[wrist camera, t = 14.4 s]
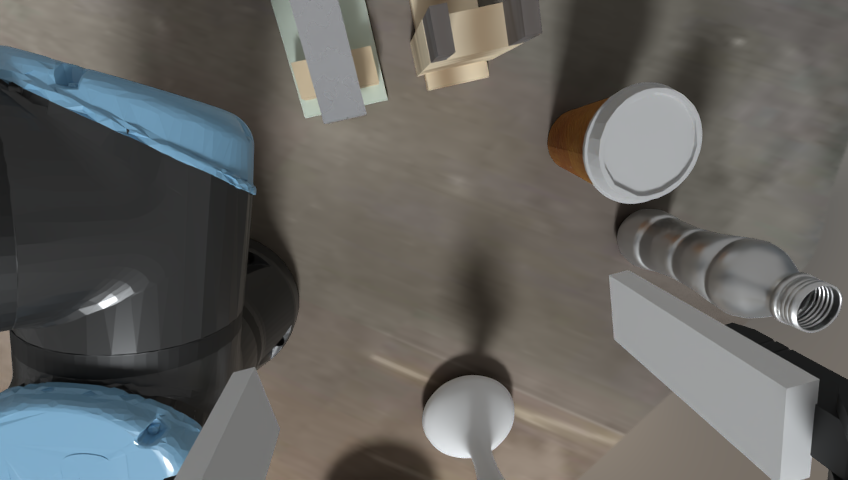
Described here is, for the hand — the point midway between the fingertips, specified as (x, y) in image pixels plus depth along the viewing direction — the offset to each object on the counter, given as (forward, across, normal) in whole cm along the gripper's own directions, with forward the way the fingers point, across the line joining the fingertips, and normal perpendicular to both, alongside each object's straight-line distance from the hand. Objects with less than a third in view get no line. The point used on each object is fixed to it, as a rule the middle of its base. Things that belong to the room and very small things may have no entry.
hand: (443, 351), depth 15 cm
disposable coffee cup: (+29, +20, +2) cm, 35 cm away
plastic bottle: (+29, +26, -10) cm, 40 cm away
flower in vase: (+29, +2, -28) cm, 40 cm away
